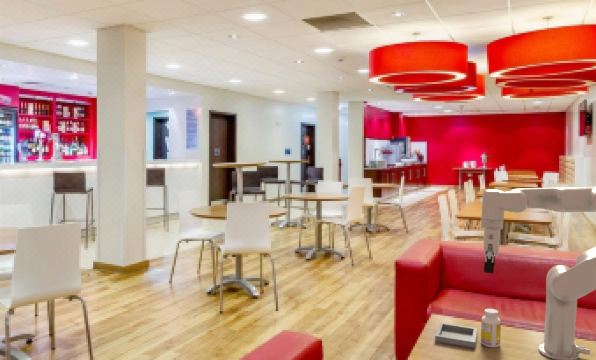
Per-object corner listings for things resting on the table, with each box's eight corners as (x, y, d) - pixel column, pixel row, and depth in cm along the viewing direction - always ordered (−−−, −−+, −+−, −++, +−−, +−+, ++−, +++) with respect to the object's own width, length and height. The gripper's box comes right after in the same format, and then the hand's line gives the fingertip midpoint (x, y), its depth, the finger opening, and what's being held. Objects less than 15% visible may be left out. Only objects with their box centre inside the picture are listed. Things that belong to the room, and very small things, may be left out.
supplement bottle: (496, 340, 182) (498, 307, 180) (502, 348, 175) (503, 314, 174) (478, 340, 182) (479, 307, 181) (483, 347, 176) (484, 313, 174)
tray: (477, 334, 187) (477, 328, 187) (474, 348, 175) (475, 342, 174) (439, 328, 193) (440, 322, 193) (435, 342, 180) (435, 335, 180)
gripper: (502, 228, 166) (499, 277, 168) (503, 220, 182) (500, 265, 184) (479, 226, 169) (476, 274, 171) (482, 218, 185) (479, 262, 187)
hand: (489, 269), depth 177 cm, fingers open, 9 cm apart
